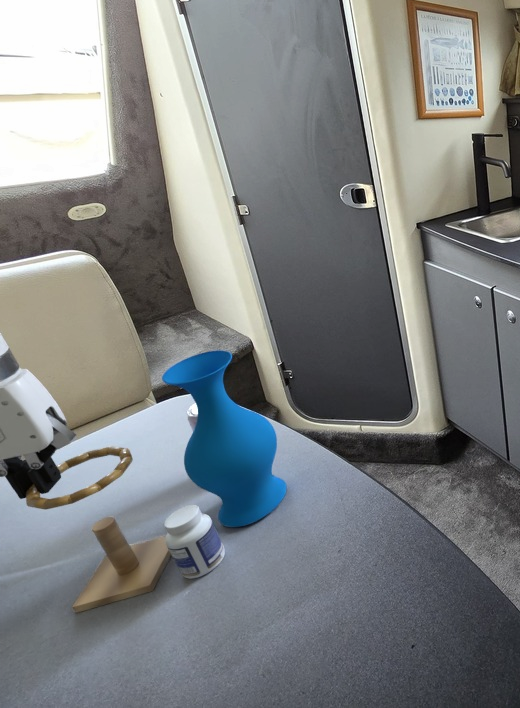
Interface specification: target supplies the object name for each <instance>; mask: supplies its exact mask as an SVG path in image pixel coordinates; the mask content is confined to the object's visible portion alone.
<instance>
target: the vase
mask: <svg viewBox="0 0 520 708" xmlns="http://www.w3.org/2000/svg"><path fill="white" fill-rule="evenodd" d="M232 359H233V354H232V353H231V352H230V351H227V350H220V349H219V350H209V351H205V352H201V353H197V354H195V355H192V356H189V357H186V358H184V359H182V360H180V361H178V362H176V363H174V364H173V365H172V366H170V367H169V368H168V369H166V370H165V372H164V373H163V374H162V377H161V380H162V382H163V383H164V384H167V385H172V386H176V387H178V388H181V389H184V390H185V391H186V392H187V393H189V394H190V396H191V397H192V399H193V401H194V404H195V403H196V406H197V410H198V417H197V423H196V426H195V429H194V431H193V430H192V434H191V436H190V438H189V439H188V442H187V444H186V447H185V450H184V455H183V464H184V470H185V472H186V475H187V477H188V478H189V479H190V480H191V482H193V484H194V485H196V486H197V487H198V488H200V489H202V490H204V491H206V492H208V493H211V494H213V495H215V496H217V497H218V498H219V499H220V500H221V502H222V503H221V506H220V507H219V510H218V521H219V523H220V524H221V525H223V526H224V527H228V528H239V527H244V526H247V525H250V524H253V523H255V522H257V521H260V520H261V519H263V518H265V517H266V516H267V515H269V514H270V513H271V512H272V511H274V510H275V509H276V508H277V507H278V506H279V504H280V503H281V502H282V501H283V500H284V498H285V496H286V493H287V489H288V485H287V483H286V481H285V480H283V479H282V478H280V477H278V476H274V474H273V473H272V470H273V464H274V460H275V457H276V454H277V448H278V439H277V438H278V437H277V433H276V430H275V428H274V426H273V424H272V423H271V422H270V421H269V420H268V419H267V418H266V417H264V416H263V415H261V414H260V413H258V412H255V411H253V410H250V409H247V408H245V407H242V406H240V405H238V404H237V403H236V402H234V400H232V399H231V398H230V397H229V395H228V394H227V391H226V389H225V385H224V374H225V371H226V369H227V367H228V366H229V365H230V363H231V361H232Z"/></svg>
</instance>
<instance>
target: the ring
mask: <svg viewBox="0 0 520 708" xmlns="http://www.w3.org/2000/svg"><path fill="white" fill-rule="evenodd" d="M108 456H113V457H119V460H120V461H119V462H118V464H117V465H116V467H114V469H113V470H112V471H110V473H108V474H106V475H105V476H104V477H102V478H101V479H99V480H98V481H96V482H94V483H92V484H91V485H88V486H85V487H84V488H81V489H79V490H77V491H75V492H73V493H69V494H66V495H62V496H61V495H60V496H56V497H52V498H46V497H41V493H40V492H39V491H38V490H37V489H36V487H35V485H34V484H33V485H32V486H31V487H30V488H29V489H28V490H27V492H26V498H25V502H26V503H25V504H26V506H27V507H28V508H34V509H40V510H50V509H51V510H52V509H55V508H60V507H64V506H68V505H72V504H75V503H77V502H80V501H81V500H84V499H85V498H88V497H90V496H92V495H94V494H96V493H99V492H101V491H102V490H104V489H105V488H106V487H108V486H110V484H112V483H113V482H115V481H116V480H118V479H119V478H120V477H122V476H123V475H124V474H125V472H126V470H127V469H128V468H129V467H130V465H131V464H132V462H133V461H134V459H133V455H132V453H131V450H130V449H129V448H127V447H120V446H114V445H113V446H106V447H102V448H98V449H92V450H88V451H86V452H83V453H81V454H79V455H76V456H74V457H71V458H69V459H67V460H65V461H62V462H61V463H59V464H57V465H56V466H57V468H58V469H59V471H60V473H61V474H63V473H64V472H66V471H68V470H70V469H72V468H73V467H76V466H79V465H81V464H83V463H85V462H88V461H90V460H94V459H99V458H103V457H104V458H105V457H108Z"/></svg>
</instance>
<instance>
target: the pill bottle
mask: <svg viewBox="0 0 520 708" xmlns="http://www.w3.org/2000/svg"><path fill="white" fill-rule="evenodd" d="M164 529H165V530H166V531H165V532H166V535H165V536H166V538H165V543H166V545H167V547H168V549H169V551H170V553H171V557H172V559H173V560H174V562H175V564H176V566H177V568H178V569H179V571H180V573H181V576H183V577H184V578H186V579H190V580H191V579H197V578H201V577H203V576H204V575H207V574H209V573H210V572H211V571H213V570H214V569H216V568H217V567H218V566H219V565H220V564H221V563H222V561H223V560H224V558H225V555H226V548H225V546H224V544H223V541H222V540H221V536H220V535H219V533H218V531H217V529H216V526H215V524H214V522H213V520H212V518H211V517H210V516H209V514H206V513H202V511H201V509H200V508H199V506H198V505H196V504H189V505H184V506H182V507H179V508H178V509H176V510H175V511H173V512H172V513H170V514H169V515H168V516H167V517H166V519H165V520H164Z"/></svg>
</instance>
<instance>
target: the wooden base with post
mask: <svg viewBox="0 0 520 708" xmlns="http://www.w3.org/2000/svg"><path fill="white" fill-rule="evenodd" d="M91 532H92V533H93V535H94V537H95V538H96V540H97V541H98V543H99V545H100V547H101V548H102V550H103V551H104V553H105V556H104V557H103V559H102V561H101V562H100V564H99V565H98V566H97V568H96V570H95V571H94V573H92V576H91V577H90V579H89V580H88V582H87V584H86V585H85V587H84V588H83V590H82V591H81V593H80V594H79V596H78V598H76V600H75V601H74V604H73V605H72V606H71V608H72V610H73V612H74V613H75V614H78V613H81V612H85V611H87V610H91V609H95V608H97V607H101V606H105V605H108V604H112V603H115V602H118V601H122V600H125V599H129V598H133V597H136V596H139V595H143V594H146V593H150V592H153V591H154V590H155V588H156V586H157V584H158V583H159V580H160V578H161V576H162V574H163V573H164V570H165V569H166V566H167V564H168V562H169V561H170V559H171V557H172V555H171V553H170V551H169V549H168V547H167V545H166V543H165V538H166V535H165V536H161V537H158V538H154V539H149V540H146V541H141V542H138V543H134V544H131V545H130V543H129V541H128V539H127V538H126V536H125V533H124V532H123V530H122V529H121V527H120V525H119V524H118V522H117V520H116V518H115V517H114V516H107V517H103V518H102V519H100V520H98V521H97V522H95V523H94V524H93V525H92V527H91Z"/></svg>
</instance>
